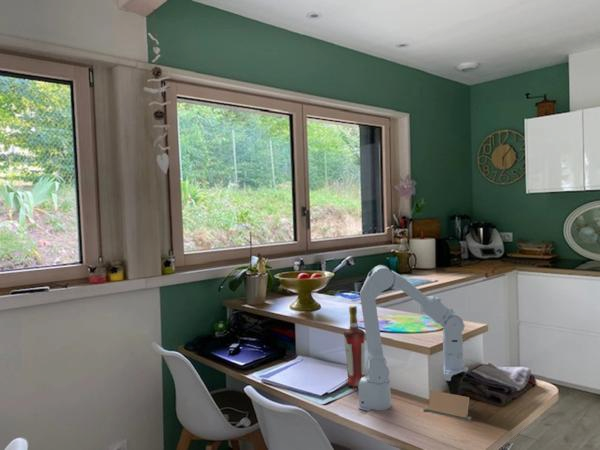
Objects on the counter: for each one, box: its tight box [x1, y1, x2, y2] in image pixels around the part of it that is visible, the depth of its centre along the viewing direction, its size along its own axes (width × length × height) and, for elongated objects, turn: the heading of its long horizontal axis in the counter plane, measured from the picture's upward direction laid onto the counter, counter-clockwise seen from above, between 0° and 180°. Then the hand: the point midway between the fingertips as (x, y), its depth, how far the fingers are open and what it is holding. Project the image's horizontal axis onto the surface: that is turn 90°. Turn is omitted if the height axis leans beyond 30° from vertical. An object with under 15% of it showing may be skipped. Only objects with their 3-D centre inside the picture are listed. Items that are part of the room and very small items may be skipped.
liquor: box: [343, 305, 366, 389], centre depth 158 cm, size 7×7×28 cm
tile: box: [427, 389, 470, 421], centre depth 131 cm, size 11×6×1 cm
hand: (455, 396), depth 136 cm, fingers closed
